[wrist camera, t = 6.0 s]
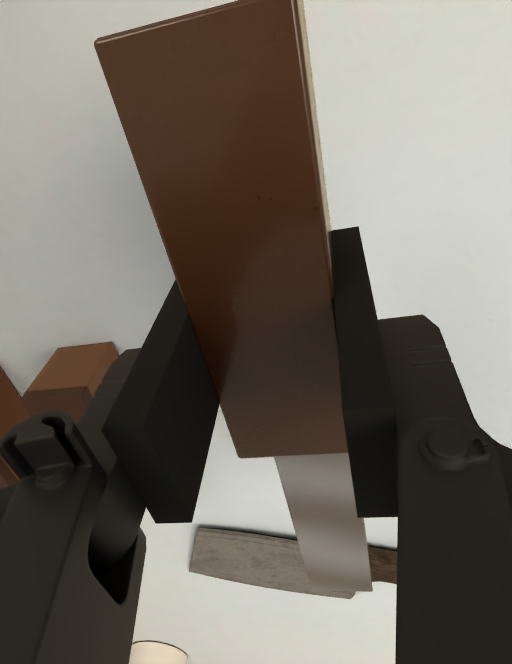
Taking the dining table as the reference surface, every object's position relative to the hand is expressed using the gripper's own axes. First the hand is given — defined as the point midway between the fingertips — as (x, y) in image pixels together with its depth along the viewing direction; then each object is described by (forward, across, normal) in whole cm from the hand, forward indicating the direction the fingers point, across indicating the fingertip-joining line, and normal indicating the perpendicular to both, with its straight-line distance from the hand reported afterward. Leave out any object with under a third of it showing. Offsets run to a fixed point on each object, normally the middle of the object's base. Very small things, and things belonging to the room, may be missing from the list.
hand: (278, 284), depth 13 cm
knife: (0, 0, -4) cm, 5 cm away
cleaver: (+11, -1, -37) cm, 38 cm away
